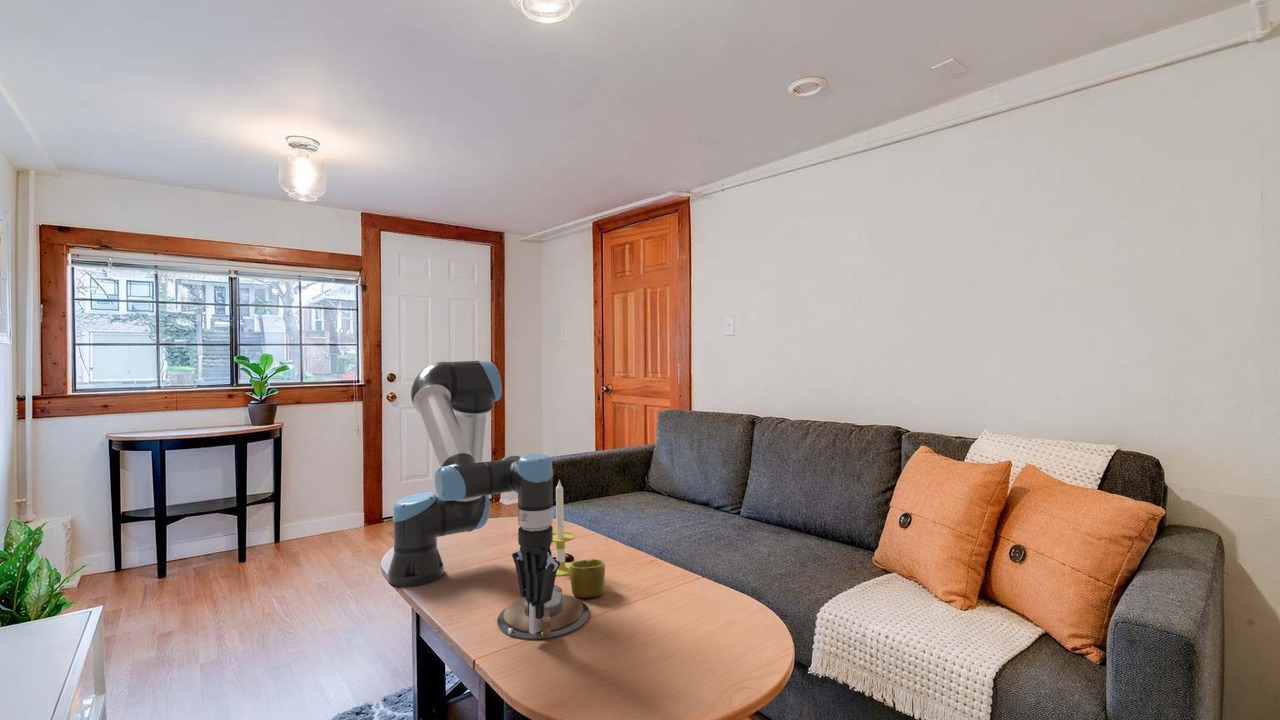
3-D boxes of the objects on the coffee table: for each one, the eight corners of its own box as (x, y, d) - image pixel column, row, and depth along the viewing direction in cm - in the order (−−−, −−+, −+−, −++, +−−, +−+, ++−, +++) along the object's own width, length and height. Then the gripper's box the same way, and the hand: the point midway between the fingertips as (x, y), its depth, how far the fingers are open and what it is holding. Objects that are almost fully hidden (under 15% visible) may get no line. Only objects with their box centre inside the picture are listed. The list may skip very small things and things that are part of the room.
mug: (605, 596, 145) (595, 557, 148) (568, 606, 147) (559, 567, 150) (619, 587, 157) (609, 550, 159) (585, 596, 159) (576, 560, 161)
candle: (584, 570, 168) (582, 479, 168) (553, 578, 162) (551, 484, 162) (568, 561, 176) (566, 474, 176) (538, 568, 171) (536, 478, 170)
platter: (502, 646, 123) (502, 625, 123) (504, 601, 146) (504, 583, 146) (590, 636, 127) (589, 615, 127) (578, 593, 150) (578, 576, 150)
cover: (535, 621, 132) (535, 599, 132) (517, 608, 139) (517, 586, 139) (568, 611, 138) (568, 589, 138) (550, 598, 145) (550, 578, 145)
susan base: (477, 623, 136) (477, 617, 136) (544, 591, 154) (544, 586, 154) (543, 649, 123) (543, 643, 123) (607, 611, 141) (607, 605, 141)
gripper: (502, 524, 127) (503, 629, 127) (544, 536, 119) (544, 647, 120) (527, 516, 133) (528, 616, 134) (568, 526, 125) (568, 632, 126)
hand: (535, 631), depth 127 cm, fingers closed
